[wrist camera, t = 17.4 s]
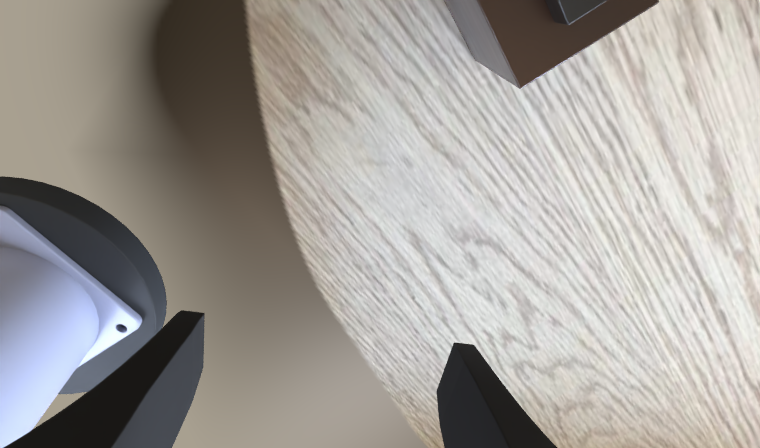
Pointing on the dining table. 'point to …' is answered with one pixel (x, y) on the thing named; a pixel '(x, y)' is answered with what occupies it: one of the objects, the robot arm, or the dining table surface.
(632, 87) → the dining table surface
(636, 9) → the knife block
